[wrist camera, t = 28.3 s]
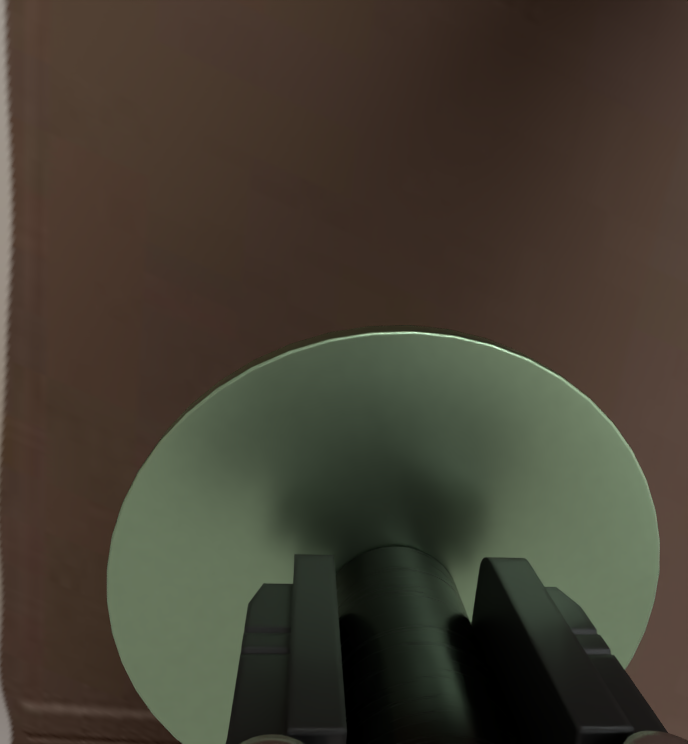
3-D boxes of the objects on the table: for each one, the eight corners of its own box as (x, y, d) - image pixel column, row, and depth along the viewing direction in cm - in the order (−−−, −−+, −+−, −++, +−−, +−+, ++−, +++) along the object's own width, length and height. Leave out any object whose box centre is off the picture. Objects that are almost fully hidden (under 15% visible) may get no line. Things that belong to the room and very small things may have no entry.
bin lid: (45, 389, 11) (-316, 628, 5) (610, 261, 11) (1024, 326, 5) (208, 802, 14) (128, 1273, 8) (643, 704, 14) (913, 1098, 8)
